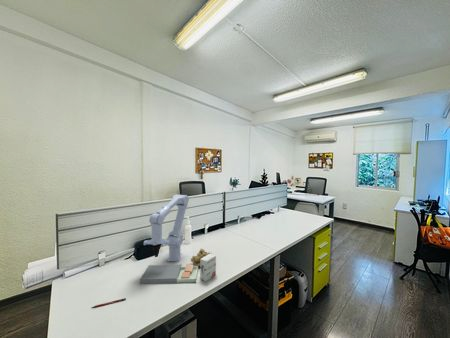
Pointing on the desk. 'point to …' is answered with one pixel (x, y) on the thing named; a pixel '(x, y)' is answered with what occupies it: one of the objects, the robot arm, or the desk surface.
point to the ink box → (207, 267)
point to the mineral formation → (199, 257)
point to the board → (161, 274)
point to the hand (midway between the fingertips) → (156, 256)
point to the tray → (192, 276)
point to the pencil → (109, 303)
